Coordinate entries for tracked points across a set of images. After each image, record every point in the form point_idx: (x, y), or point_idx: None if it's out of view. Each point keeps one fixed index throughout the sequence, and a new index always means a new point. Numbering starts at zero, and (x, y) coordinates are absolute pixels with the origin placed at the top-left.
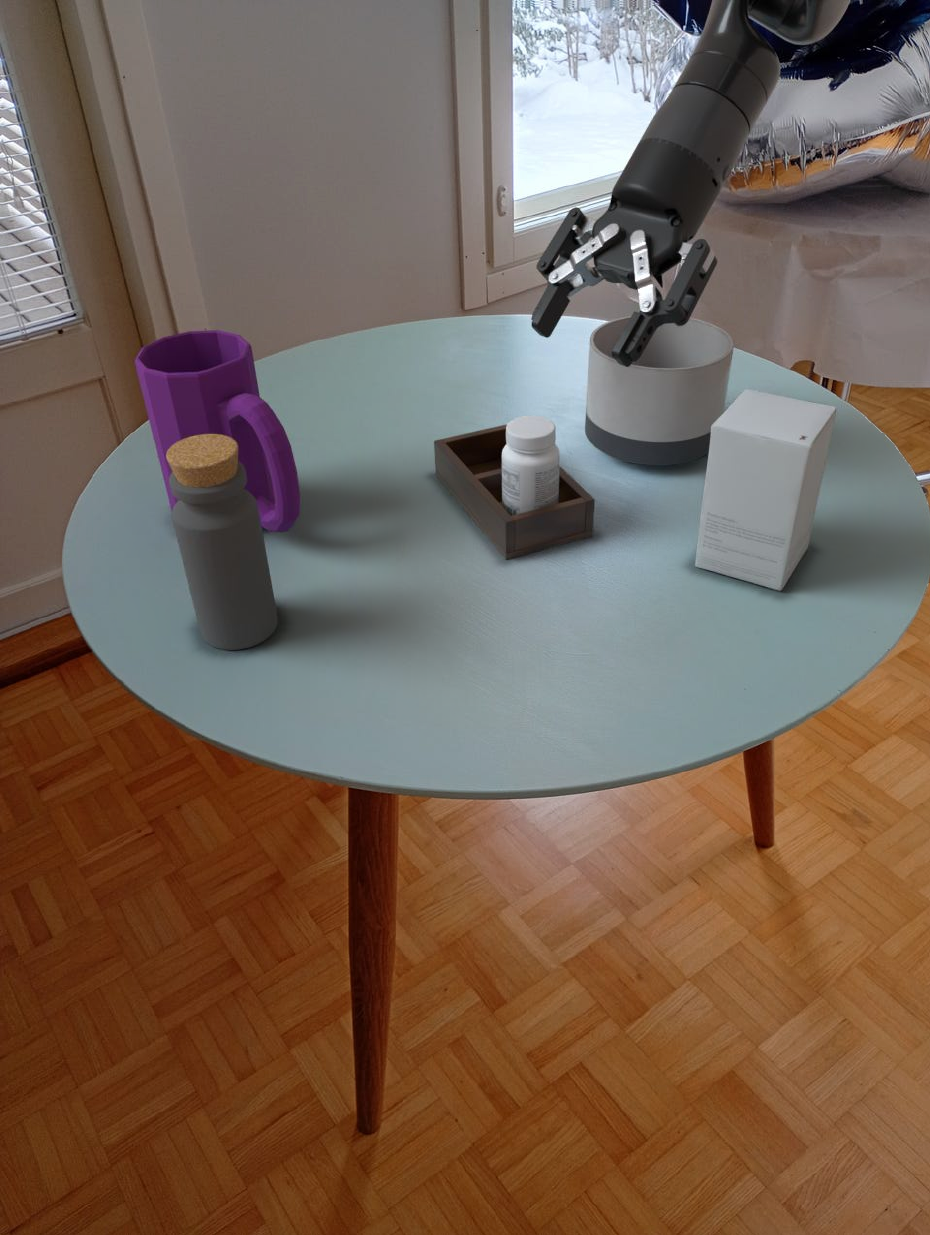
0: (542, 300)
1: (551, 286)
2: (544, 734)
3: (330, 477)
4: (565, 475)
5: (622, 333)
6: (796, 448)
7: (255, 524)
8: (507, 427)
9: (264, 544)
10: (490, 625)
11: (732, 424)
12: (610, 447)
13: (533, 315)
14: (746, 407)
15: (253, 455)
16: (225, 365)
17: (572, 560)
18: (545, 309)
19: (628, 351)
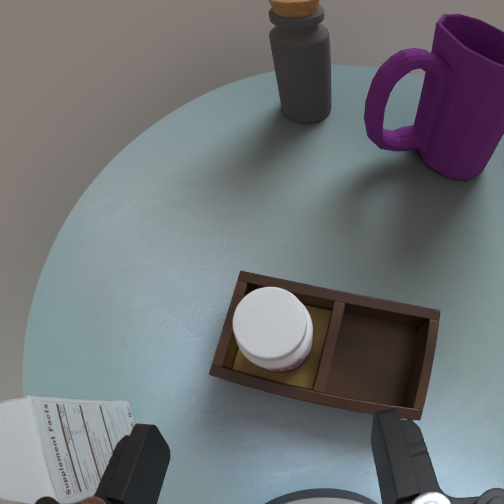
0: (422, 460)
1: (419, 489)
2: (108, 197)
3: (469, 233)
4: (271, 388)
5: (136, 455)
6: None
7: (277, 50)
8: (289, 293)
9: (289, 73)
10: (191, 223)
11: (19, 410)
12: (309, 492)
13: (413, 426)
14: (29, 456)
15: (427, 108)
16: (450, 35)
17: (206, 332)
18: (384, 442)
19: (125, 438)
